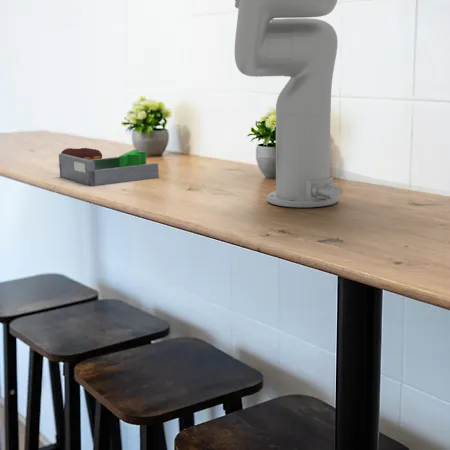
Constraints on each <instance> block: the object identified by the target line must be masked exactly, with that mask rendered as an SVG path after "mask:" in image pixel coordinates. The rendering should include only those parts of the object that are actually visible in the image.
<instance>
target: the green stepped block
mask: <svg viewBox="0 0 450 450" xmlns="http://www.w3.org/2000/svg"><path fill="white" fill-rule="evenodd" d="M118 157H119V162H120V167H126V166H135V165H143V164H147V151H145V150H143V151H139V149H132V150H130V151H128V152H125V153H124V154H121V155H119V156H118Z"/></svg>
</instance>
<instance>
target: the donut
mask: <svg viewBox="0 0 450 450" xmlns="http://www.w3.org/2000/svg"><path fill="white" fill-rule="evenodd" d="M60 152H61V153H60V154H66V155H70V156H75V157H79V158H83V159H87V160H94V159H103V154H102V152H101V151H100V150H99V149H96V148H89V147H82V148H72V147H69V148H65V149H63V150H62V151H60Z"/></svg>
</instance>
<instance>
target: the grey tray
mask: <svg viewBox="0 0 450 450" xmlns="http://www.w3.org/2000/svg"><path fill="white" fill-rule="evenodd" d="M58 164H59V178H63V179H67V180H69V181H73V182H75V183H79V184H83V185H86V186H89V187H90V186H91V187H95V186H96V187H97V186H103V185H109V184H117V183H126V182H135V181H141V180H149V179H157V178H159V163H158V162H153V163H146V164H143V165H135V166H126V167H120V162H119V156H112V157H107V158H105V157H104V158H103V157H102V159H94V160H87V159H83V158H79V157H75V156H70V155H66V154H61V153H58Z"/></svg>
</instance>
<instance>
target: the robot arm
mask: <svg viewBox="0 0 450 450" xmlns="http://www.w3.org/2000/svg"><path fill="white" fill-rule="evenodd" d="M234 2H235V3H234V7H235V9H238V11H237V20H236V28H235V29H236V30H235V39H234V61H235V64H236V68H237V70H238V71H239V72H240V73H241V74H242V75H245V76H248V77H254V78H255V77H256V78H257V77H258V78H259V77H261V78H262V77H288V78H289V80H288V81H287V83H286V84H285V85H284V87H283V88H282V89H281V91H280V93H279V94H278V96H277V100H276V103H275V190H274V191H271V192H269V193H268V194H267V196H266V199H267V202H268V203H270V204H271V205H276V206H280V207H288V208H321V207H326V206H332V205H334V204H336V203H338V201H339V196H340V195H341V194H343V188H342V186H337V185H334V177H331V176H330V175H331V174H330V172H331V170H330V167H331V165H330V164H331V113H332V112H331V111H332V106H331V105H332V86H333V76H334V75H333V74H334V70H335V65H336V64H335V63H336V58H337V54H338V52H337V51H338V42H339V41H338V35H337V32H336V30H335V29H334V27H333V26H332V25H331V24H330V23H329V22H327V21H325V20H322V19H318V18H319V17H320V18H321V17H325V16H327V15H329V14H331V13H332V12H333V10H335V7H336V5H337V2H338V0H234ZM316 18H317V19H316Z"/></svg>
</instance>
